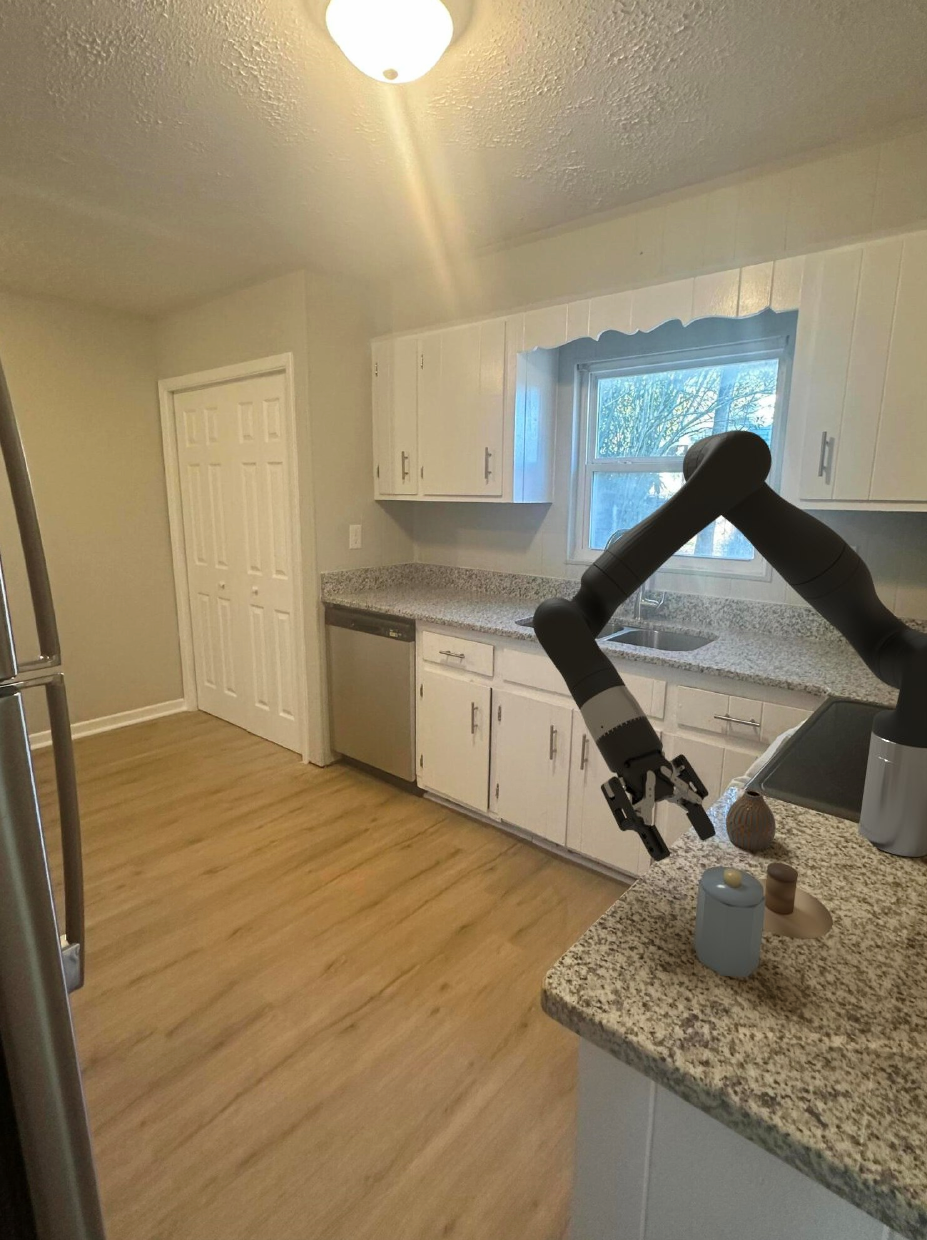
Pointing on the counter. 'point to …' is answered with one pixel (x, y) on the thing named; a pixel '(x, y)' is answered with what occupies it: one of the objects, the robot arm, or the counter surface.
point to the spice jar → (780, 888)
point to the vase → (751, 822)
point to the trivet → (799, 917)
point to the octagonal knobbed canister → (729, 921)
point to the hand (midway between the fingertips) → (687, 848)
